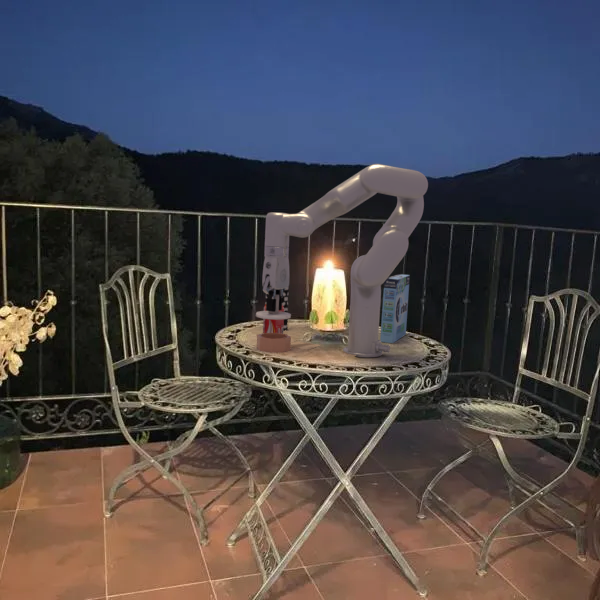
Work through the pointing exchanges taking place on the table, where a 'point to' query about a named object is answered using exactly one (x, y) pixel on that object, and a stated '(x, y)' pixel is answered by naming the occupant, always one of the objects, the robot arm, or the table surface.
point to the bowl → (273, 342)
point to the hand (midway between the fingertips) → (273, 309)
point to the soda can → (273, 324)
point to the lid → (274, 315)
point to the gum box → (394, 308)
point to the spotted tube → (285, 304)
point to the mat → (303, 345)
